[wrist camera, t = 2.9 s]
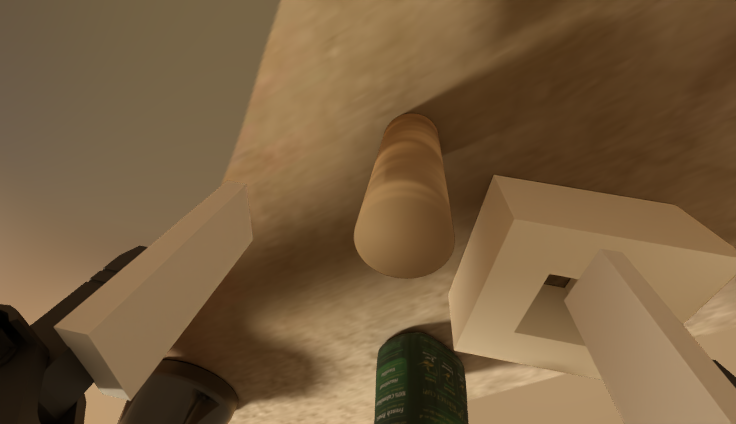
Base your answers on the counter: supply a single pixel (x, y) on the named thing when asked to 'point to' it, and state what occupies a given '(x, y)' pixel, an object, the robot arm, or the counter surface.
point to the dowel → (406, 203)
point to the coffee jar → (419, 383)
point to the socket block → (570, 268)
